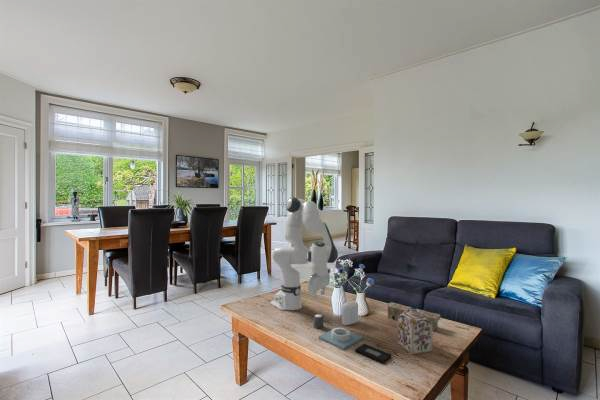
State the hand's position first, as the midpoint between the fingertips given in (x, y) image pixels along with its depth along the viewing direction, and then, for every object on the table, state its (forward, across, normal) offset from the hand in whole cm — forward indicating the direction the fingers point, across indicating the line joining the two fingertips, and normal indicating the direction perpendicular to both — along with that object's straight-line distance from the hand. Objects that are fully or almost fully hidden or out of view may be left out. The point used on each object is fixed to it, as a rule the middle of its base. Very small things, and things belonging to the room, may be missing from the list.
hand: (318, 296), depth 165 cm
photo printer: (+17, +14, -13) cm, 26 cm away
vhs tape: (+18, -13, -34) cm, 41 cm away
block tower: (+17, +34, -43) cm, 57 cm away
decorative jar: (+18, +4, -50) cm, 53 cm away
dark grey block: (+17, 0, 0) cm, 17 cm away
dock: (+17, -6, -15) cm, 24 cm away
